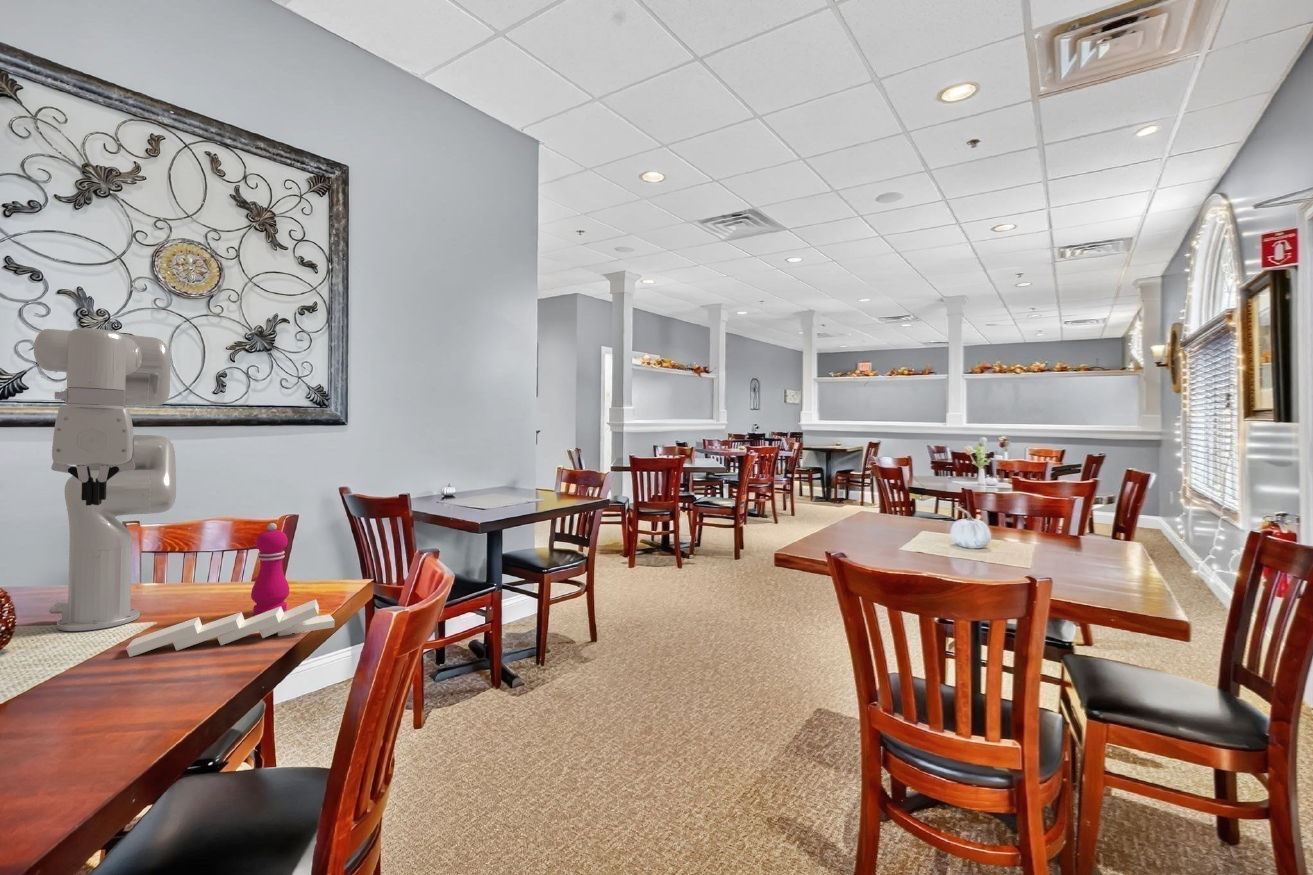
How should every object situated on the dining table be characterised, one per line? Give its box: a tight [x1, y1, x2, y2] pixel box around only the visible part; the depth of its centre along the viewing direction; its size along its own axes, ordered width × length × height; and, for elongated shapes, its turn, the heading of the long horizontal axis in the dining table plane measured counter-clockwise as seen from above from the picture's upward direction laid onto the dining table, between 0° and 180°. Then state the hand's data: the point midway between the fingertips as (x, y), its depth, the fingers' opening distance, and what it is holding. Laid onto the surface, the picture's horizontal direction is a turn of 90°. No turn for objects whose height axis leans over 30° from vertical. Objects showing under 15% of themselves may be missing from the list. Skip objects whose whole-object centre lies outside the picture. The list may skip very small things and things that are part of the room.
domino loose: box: [125, 616, 203, 658], centre depth 110 cm, size 2×5×10 cm
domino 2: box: [217, 606, 284, 646], centre depth 117 cm, size 2×5×10 cm
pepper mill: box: [250, 522, 290, 616], centre depth 134 cm, size 7×7×20 cm
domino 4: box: [276, 613, 336, 637], centre depth 124 cm, size 2×5×10 cm
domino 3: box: [258, 598, 320, 639], centre depth 121 cm, size 2×5×10 cm
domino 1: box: [172, 611, 245, 652], centre depth 114 cm, size 2×5×10 cm
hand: (93, 504), depth 105 cm, fingers closed
